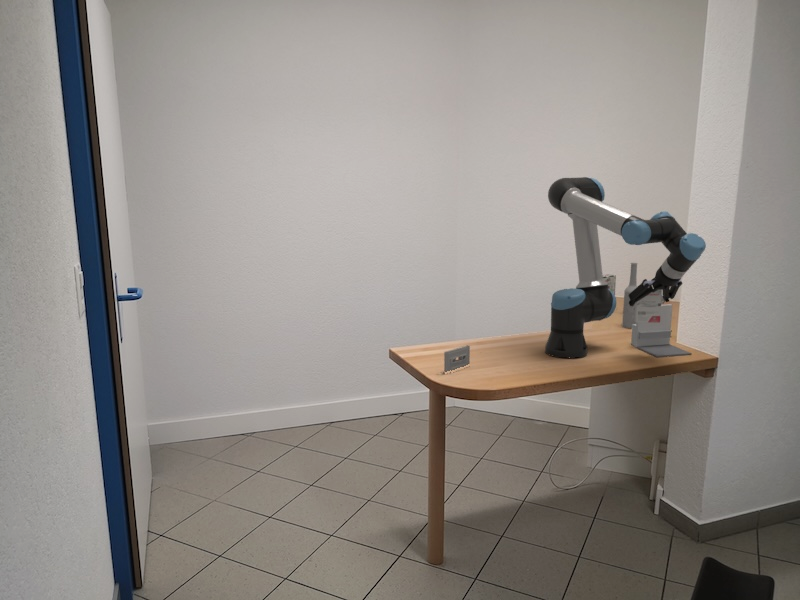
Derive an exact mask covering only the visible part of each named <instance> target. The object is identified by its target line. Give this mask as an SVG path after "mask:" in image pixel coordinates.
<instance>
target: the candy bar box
mask: <svg viewBox="0 0 800 600" xmlns="http://www.w3.org/2000/svg"><path fill="white" fill-rule="evenodd" d="M616 277H617V276H616V275H615V274H610V273H609V274H603V280H604V281H605V282H606V283H608V289H610V290H611V291H612V293H614V295H615V296H616V280H617V279H616Z"/></svg>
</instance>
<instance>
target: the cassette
mask: <svg viewBox="0 0 800 600" xmlns="http://www.w3.org/2000/svg"><path fill="white" fill-rule="evenodd" d="M470 348H471V347H470V345H468V344H467V345H463V346H461V347H457V348H453V349H449V350H446V351H444V353H443V355H444V356H443V358H444V359H443V360H444V364H443V365H444V368H443V370H444V371H445V372H447V371H450V370H451V371H452V370H455V369H457V368H460V367H464V366H466V365H468V364H470V362H471V361H470V358H471V357H470V355H471V354H470V352H471V350H470ZM457 358H458V359H457Z"/></svg>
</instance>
